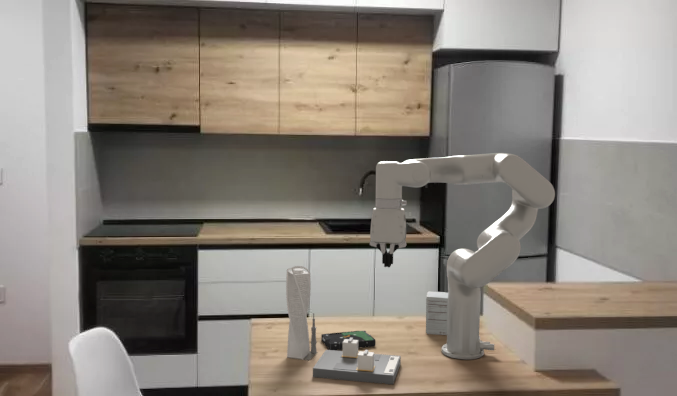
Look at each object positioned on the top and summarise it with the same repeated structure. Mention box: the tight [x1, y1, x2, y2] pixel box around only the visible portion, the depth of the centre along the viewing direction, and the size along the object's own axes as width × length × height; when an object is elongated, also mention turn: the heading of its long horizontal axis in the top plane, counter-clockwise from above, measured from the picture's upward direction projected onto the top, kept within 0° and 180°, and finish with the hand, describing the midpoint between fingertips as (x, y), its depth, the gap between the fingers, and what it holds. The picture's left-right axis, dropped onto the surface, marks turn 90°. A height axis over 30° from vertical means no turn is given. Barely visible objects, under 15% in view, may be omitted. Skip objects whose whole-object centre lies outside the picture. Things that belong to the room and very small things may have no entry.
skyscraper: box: [285, 265, 319, 361], centre depth 192 cm, size 8×8×28 cm
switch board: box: [312, 349, 402, 385], centre depth 182 cm, size 22×15×3 cm
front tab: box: [357, 349, 375, 371], centre depth 176 cm, size 4×3×5 cm
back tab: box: [342, 337, 359, 357], centre depth 186 cm, size 4×3×5 cm
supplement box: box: [425, 290, 448, 336], centre depth 216 cm, size 7×7×13 cm
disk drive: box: [320, 330, 377, 351], centre depth 204 cm, size 10×3×15 cm
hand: (387, 266), depth 191 cm, fingers closed
